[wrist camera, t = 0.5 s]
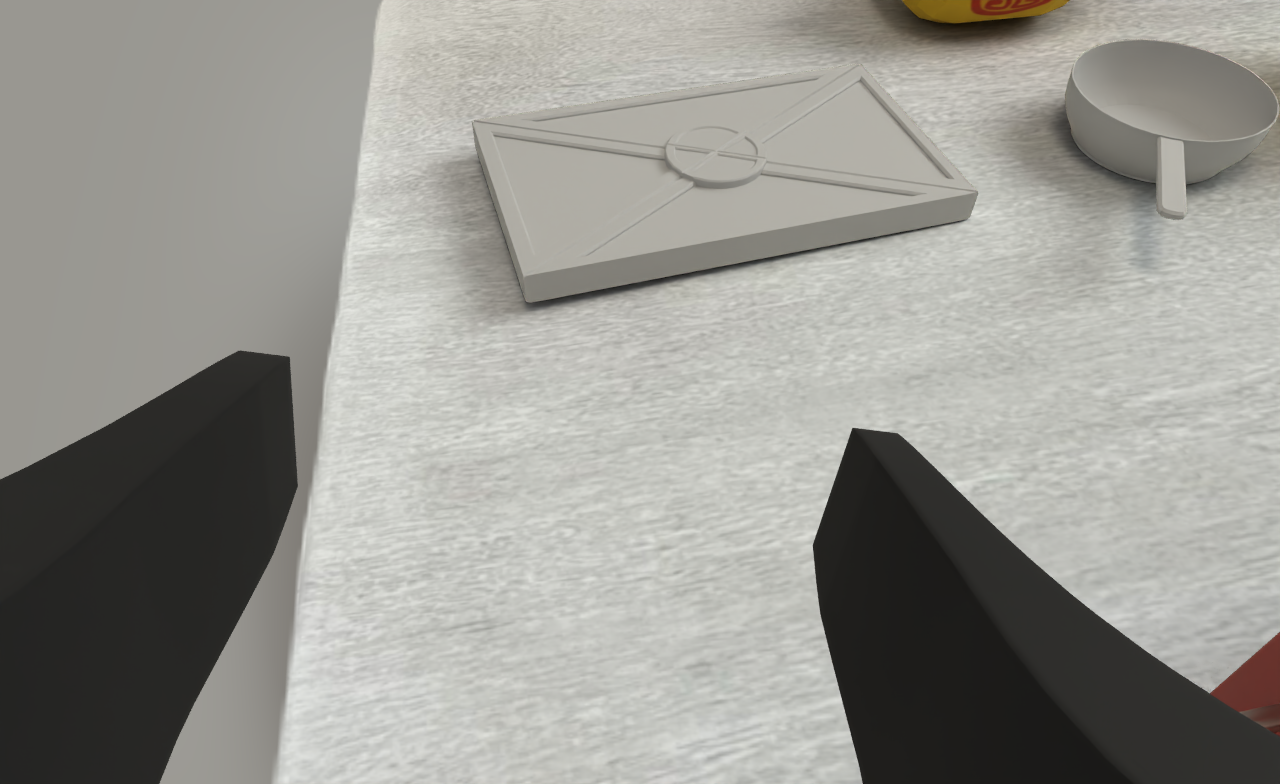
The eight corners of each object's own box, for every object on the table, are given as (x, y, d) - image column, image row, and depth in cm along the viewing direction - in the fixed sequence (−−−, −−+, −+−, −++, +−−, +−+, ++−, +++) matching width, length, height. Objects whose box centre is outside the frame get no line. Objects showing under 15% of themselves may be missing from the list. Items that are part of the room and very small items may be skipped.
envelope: (967, 222, 48) (854, 92, 57) (980, 188, 47) (861, 59, 56) (526, 307, 44) (475, 150, 52) (523, 272, 42) (471, 116, 51)
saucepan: (1243, 112, 55) (1277, 53, 52) (1258, 301, 44) (1301, 239, 41) (1059, 79, 58) (1081, 20, 55) (1029, 249, 47) (1054, 187, 44)
